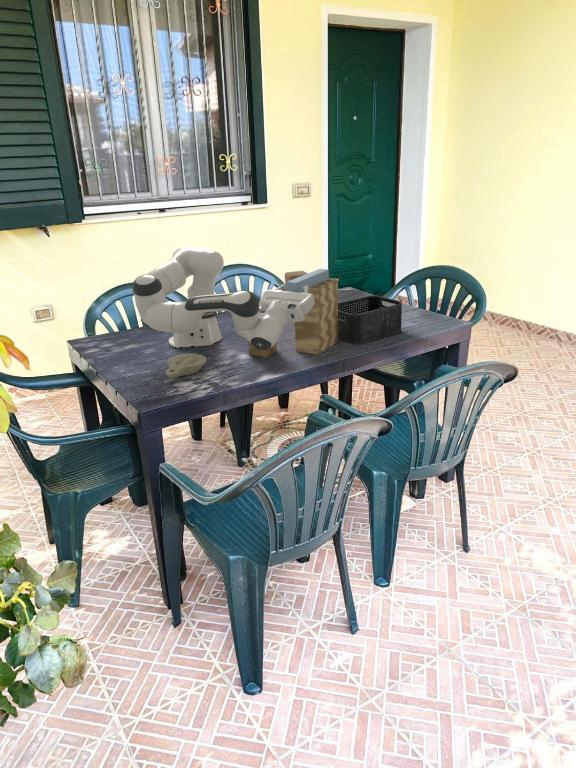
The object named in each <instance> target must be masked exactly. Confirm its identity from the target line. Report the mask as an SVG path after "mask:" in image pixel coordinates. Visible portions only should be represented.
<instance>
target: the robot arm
mask: <svg viewBox="0 0 576 768" xmlns="http://www.w3.org/2000/svg"><path fill="white" fill-rule="evenodd" d="M224 265H225V261H224V258H223V255H222V254H221V253H219V251H216V250H214V249H211V248H205V247H204V248H203V247H194V246H182V247H179V248H177V249H176V250H174V252H173V254H172V258H171V259H169V260H168V261H167V262H165V263H163V264H161V265H160V266H158V267H156V268H154V269H153V270H150V271H148V273H146V274H142V275H139V276H137V277H136V278H135V279H134V281H133V282H132V293H133V295H134V297H133V298H134V302H135V303H134V304H135V306H136V309H137V312H138V314H139V317H140V322H141V323H142V325H143V327H144V328H145V329H146V330H148V331H151V332H158V331H161V332H163V333H169V334H170V333H173V336H171V337H170V338H169V339H168V344H169V346H170V347H172V346H173V348H175V347H176V348H175V349H179V348H180V347H182V348H192V347H191V346H194V347H202V346H203V347H206V346H212V345H213V344H214V343H216V342H219V341H221V340H222V338H223V337H222V335H221V332H220V329H219V324H218V312H229V313H230V314H231V317H232V321H233V327H234V330H235V332H236V334H237V335H238V336H239V337H241V338H243V339H246V340H247V341H248V340H249V341H250V343H251V345H252V346H253V347H254V348H256V349H259V350H268V349H270V348H271V347H272V346H273V345H274V344H275V343H277V341H278V340H279V339H280V337H281V335H282V334H283V331H284V328H286V327H287V325H290V324H293V323H294V324H295V322H301V321H303V320H304V315H306V314H308V313H309V311H310V310H311V308H312V307H313V305H314V303H315V300H314V297H313V295H312V294H309V293H308V291H309V287H308V286H304V287H303V290H304V292H303V293H299V292H288V291H285V289H286V288H287V286H286V284H285V283H281V284H280V286H278V287H277V288H275V289H265V290H264V292H262V295H261V297H260V300H259V297H258V296H257V294H256V293H254V292H253V291H250V290H246V289H242V290H240V289H239V290H237V291H234V292H229V293H228V292H227V293H216V294H215V285H216V281H217V278H218V276H219V274H220V273H221V272H222V271H223V269H224ZM191 276H193V277H192V283H191V285H190V286H189V287H188V288H187V291H186V293H187V294H186V295H187V300H186V301H167V299H166V297H167V296H169V295H170V294H172V293H174V292H176V291H177V290H179V289H181V288H182V287H184V286H185V284H186V282H187V279H188V278H189V277H191ZM260 311H261V312H260ZM262 311H264V314H261V313H262ZM180 349H181V348H180Z"/></svg>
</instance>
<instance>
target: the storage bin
mask: <svg viewBox="0 0 576 768" xmlns="http://www.w3.org/2000/svg"><path fill="white" fill-rule="evenodd" d="M383 302H385V303H389V304H393V305H389V306H388V305H384V304H383ZM402 306H403V302H402V301H401V300H396V299H392V298H388V297H385V296H381V295H367V296H362V297H359V298H353V299H350V300H346V301H345V300H344V301H341V302H338V341H339V340H340V342H342V343H345V342H346V343H345V344H347V343H348V345H351V344H358V345H361V343H362V344H364V343H365V342H366V343H368V342H369V341H370V342H372V340H373V341H376V339H377V340H380V339H384V338H387V336H388V337H391V336H394V334H395V335H398V334H400V333H401V332H402V316H403V315H402V313H403V309H402V308H403V307H402ZM397 333H398V334H397ZM390 335H391V336H390ZM383 337H384V338H383Z"/></svg>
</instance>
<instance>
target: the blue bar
mask: <svg viewBox="0 0 576 768" xmlns="http://www.w3.org/2000/svg"><path fill="white" fill-rule="evenodd" d="M329 270H330V269H327V268H324V269H323V268H319V269H316V270H313V271H311V272H307V273H308V274H305V275H303V276H300V277H298V278H295V279H293V280H290V281H288V282H287V291H288V292H302V291H304V290H303V287H304V286H308V287H309V288H311V287H313V286H315V285H318V284H320V283H322V282H324V281H327V280H329V278H330V276H329V275H330V273H329Z"/></svg>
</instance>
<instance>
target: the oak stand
mask: <svg viewBox="0 0 576 768" xmlns="http://www.w3.org/2000/svg"><path fill="white" fill-rule="evenodd" d="M339 281H340V279H339V278H330V277H329V280H327V281H324V282H322V283H320V284H318V285H315V286H313V287H311V288H309V291H308V293H309V294H312V295H313V297H314V300H315V303H314V305H313V307H312V308H311V310H310V311H309V313H308V314H306V315H304V320H303V321H301V322H294V334H295V335H294V341H295V352H299V353H306V354H312V355H319V353H320V354H321V353H322V351H323V352H324V351H326V350H327V349H329V348H331V347H332V346H334V345H335V344H336V343H338V342H339V340H338V303H339V284H338V283H339ZM303 292H304V291H302V292H299V293H303ZM337 341H338V342H337ZM325 349H326V350H325Z"/></svg>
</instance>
